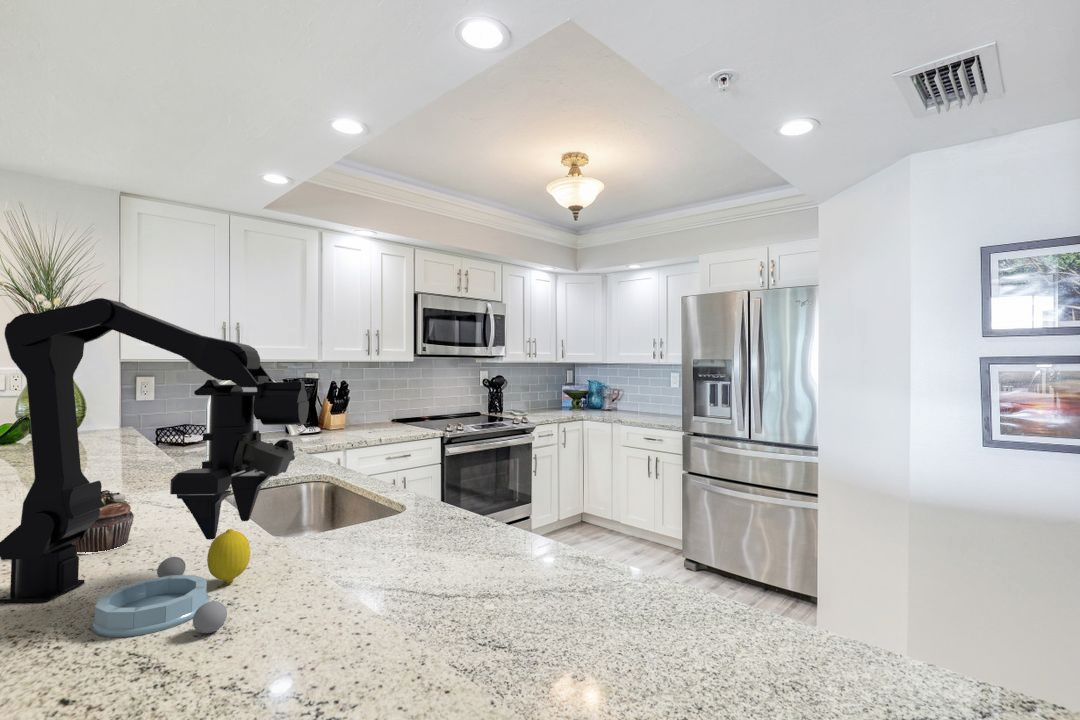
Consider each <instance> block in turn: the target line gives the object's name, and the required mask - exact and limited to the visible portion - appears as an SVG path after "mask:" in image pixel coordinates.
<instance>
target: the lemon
mask: <svg viewBox="0 0 1080 720" xmlns="http://www.w3.org/2000/svg"><path fill="white" fill-rule="evenodd" d="M206 558H207V559H206V561H207V568H208V571H209V573H210V575H212V576H213V577H214V578H215V579H217V580H221V581H223V582H225V583H226V584H230V583H232V581H234V579H235V578H237V577H239V576H241V575H242V573H244V571H246V569H247V568H248V566H249V563H250V558H251V547H250V542H249V539H248V537H247V536H246V535H245V534H244V533H242V532H241V531H238V530H234V529H233V528H228V529H226V531H224V532H222V533H220V534H219V535H218V536H217V535H216V537H215V539H213V540H212V542H211V543H210V546H209V549H208V552H207V557H206Z"/></svg>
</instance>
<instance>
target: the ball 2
mask: <svg viewBox="0 0 1080 720" xmlns="http://www.w3.org/2000/svg"><path fill="white" fill-rule="evenodd" d="M227 617H228V611H227V608H226V605H224V603H222V602H220V601H217V600H216V601H215V600H213V601H212V600H211V601H209V602H207V603H205V604H203V605H202V606H200V607H199V608H198V609H197V611H196V612H195V614H194V617H193V619H192V625H193V627H194V629H195V630H196V631H197V632H198V633H201V634H212V633H214V632H215V631H218V630H219V629H220V628H222V627H223V626H224V624H225V622H226V621H227Z"/></svg>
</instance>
